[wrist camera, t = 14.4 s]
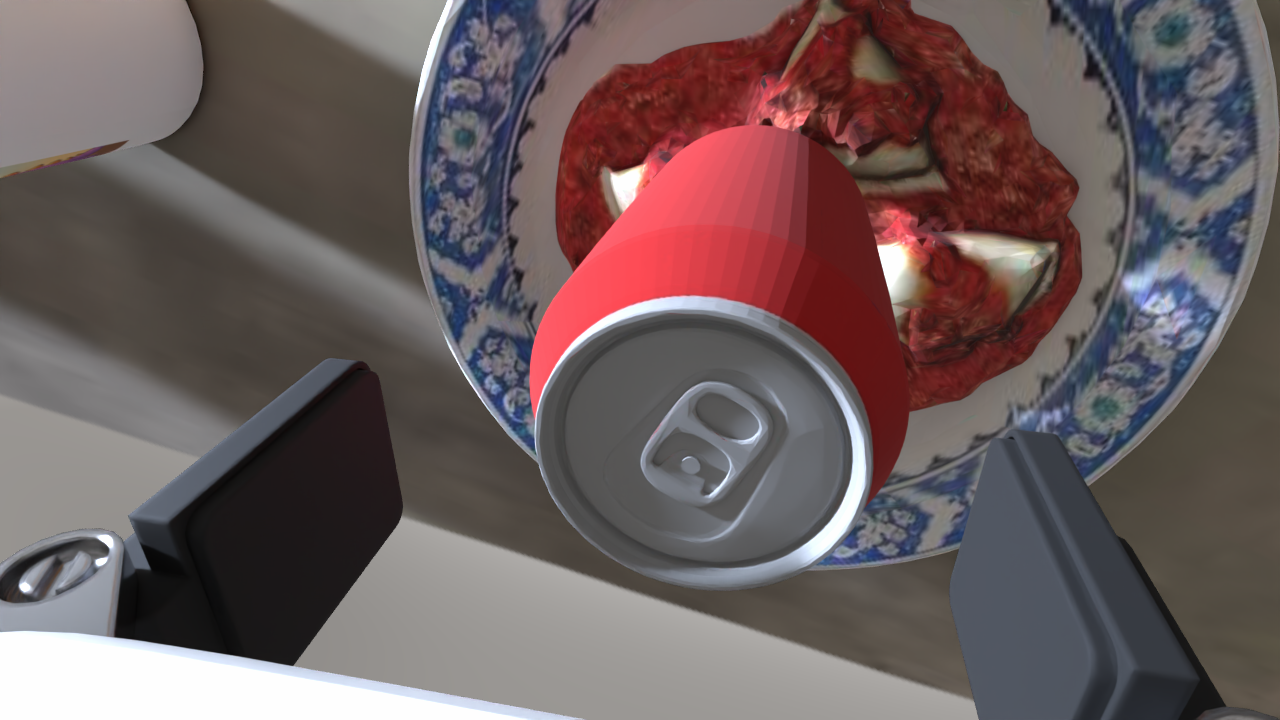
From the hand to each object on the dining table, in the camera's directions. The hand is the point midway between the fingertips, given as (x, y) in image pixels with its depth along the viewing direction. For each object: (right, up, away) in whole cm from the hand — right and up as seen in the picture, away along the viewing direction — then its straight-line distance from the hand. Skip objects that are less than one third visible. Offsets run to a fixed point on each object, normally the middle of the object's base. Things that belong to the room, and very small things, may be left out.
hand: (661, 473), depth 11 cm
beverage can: (+3, +6, +11) cm, 13 cm away
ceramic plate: (+5, +6, +14) cm, 16 cm away
